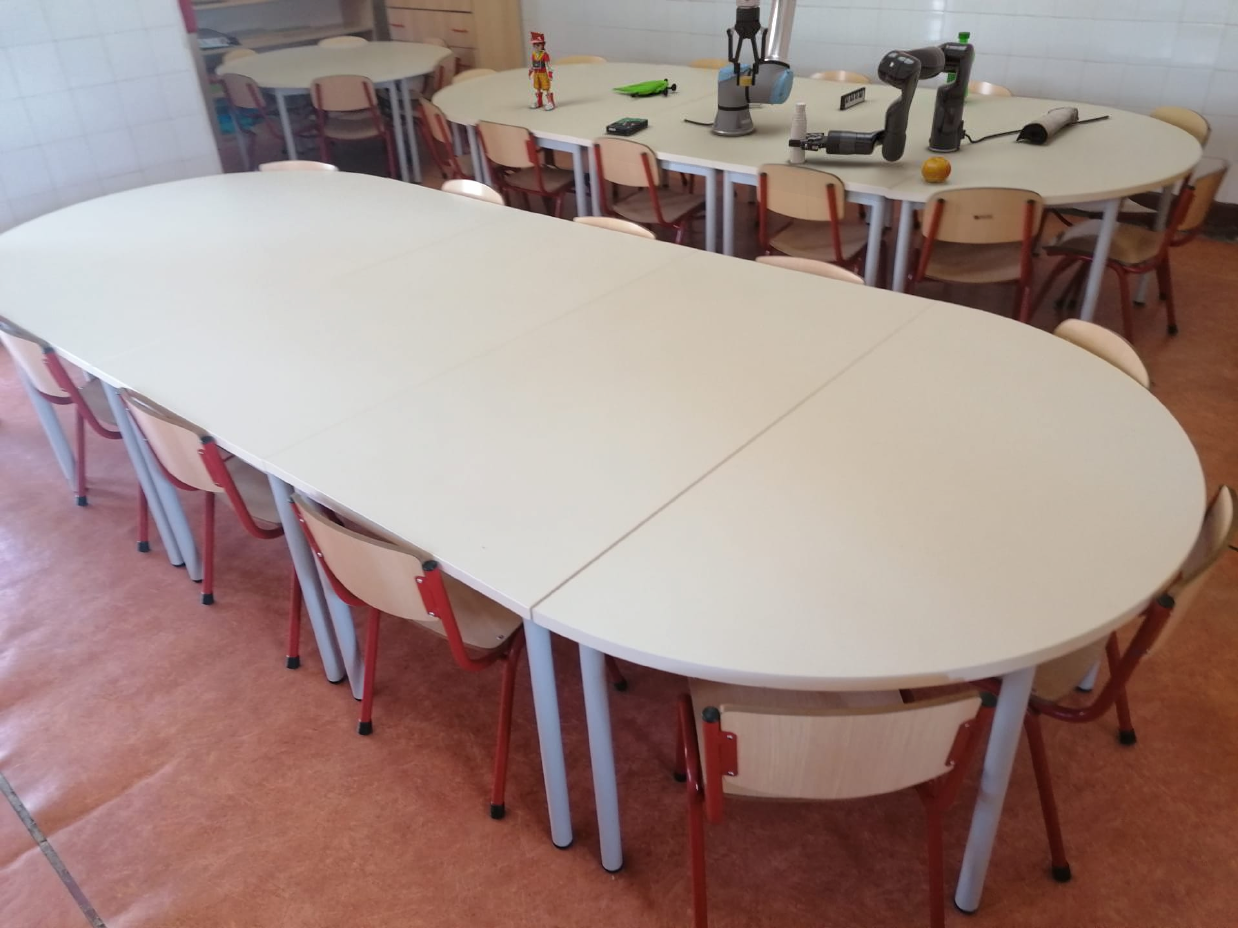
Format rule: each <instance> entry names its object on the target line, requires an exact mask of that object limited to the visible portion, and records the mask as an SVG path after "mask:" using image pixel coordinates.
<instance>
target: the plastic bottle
mask: <svg viewBox="0 0 1238 928" xmlns="http://www.w3.org/2000/svg"><path fill="white" fill-rule="evenodd" d="M970 36H971V32H970V31H959V32H958V36H957V39H958V42H959V43H968V41H969V39H970V38H971V37H970ZM975 57H976V51H975V49H974V59H973V62H974V61H975ZM946 77H947V78H946V83H950V82H952V81H954V80H955V78H956V74H950V73H947V76H946ZM968 95H969V86H968V87H967V91H966V97H965V99H966V98H967V96H968Z"/></svg>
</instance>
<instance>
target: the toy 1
mask: <svg viewBox="0 0 1238 928" xmlns="http://www.w3.org/2000/svg"><path fill="white" fill-rule="evenodd" d="M529 33H530V35H531V36H528V37H527V38H528V39H529V40H528V41H527V43H529V44H530V43H531V44H532V48H533V50H534V51H533V52H532V55H531V58H530V59H531V63H530V66H528V74H527V75H528V76H527V77H528V79H529V80H531V75H532V74H533V84H532V85H533V86H532V87H533V88H534V89H535V90H536V92H534V95H535V97H536V100H535V101H533V102H531V105H530V108H531V109H535V108H538V107H542V106H544V101H543V100H544V99H543V95H544V92H546V94H545V97H546V99H547V103H546V104H545V106H544V110H546V111H549V110H553V109H554V107H555V106H556V105H555V99H554V92H551V91H550V90H551V86H552V84H551V82H552V81H553V80H554V77H553V73H554V71H555V70H554V69H552V68H551V63H550V61H551V59H550V58H551V57H550V54H549V53H548V52H547V50H546V48H545V46H546V44H547V41H545V35H544V33H543V32H542V33H539V32H535V31H529Z"/></svg>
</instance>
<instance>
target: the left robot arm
mask: <svg viewBox="0 0 1238 928" xmlns="http://www.w3.org/2000/svg"><path fill="white" fill-rule="evenodd" d="M797 1H798V0H771V7H770V12H769V19H768V25H767V27H764V26H762V24H761V22H760V21H761V20H760V19H761V7H760V5H761V0H736V4H735V5H736V6H737V7H736V8H735V23H734V25H733V26H732V27H728V28H727V29H726V30H725V31H726V35H727V62H729V63H732V64H729V65H725V66H722V67H721V68H720V69H719V70H718V75H717V111H716V114H715V118H714V120H713V122H711V123H710V122H709V123H705V122H699V121H695V120H690V119H686V118H684V119H683V121H684V122H687V123H691V124H695V125H701V126H706V127H707V126H710V127H711V126H712V133H713V134H715V135H717V136H721V137H741V136H746V135H750V134H752V133H754V127H755V126H754V122H753V118H752V115H751V111H750V108H749V103H759V104H762V105H771V106H773V105H783V104H785V103H786V102H787V101H788V99H789V97H790V95H791V92H792V89H793V86H794V85H793V84H794V71H793V70H792V69H791V65H790V63H789V61H788V56H789V50H790V44H791V39H792V38H791V37H792V32H793V27H794V20H795V13H796V9H797V8H796V7H797V3H798V2H797ZM759 31H760V35H761V41H760V42H761V43H760V54H759V50H758V49H759V48H758V43H757V37H756V35H758V33H759ZM735 32H736V34H737V35H738V42H737V45H736V50H735V55H734V34H735ZM746 39H748V40H750V43H751V48H752V54H753V59H754V62H753V63H752V65H751V63H750V62H739V61H740V56H741V52H742V47H743V42H744V40H746ZM742 76H751V77H752V85H750V86H741V85H739V78H740V77H742Z"/></svg>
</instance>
